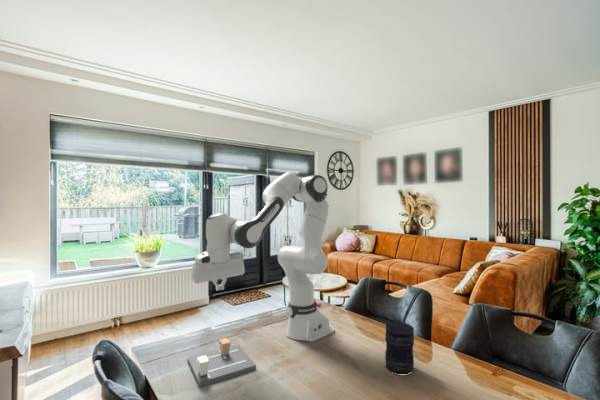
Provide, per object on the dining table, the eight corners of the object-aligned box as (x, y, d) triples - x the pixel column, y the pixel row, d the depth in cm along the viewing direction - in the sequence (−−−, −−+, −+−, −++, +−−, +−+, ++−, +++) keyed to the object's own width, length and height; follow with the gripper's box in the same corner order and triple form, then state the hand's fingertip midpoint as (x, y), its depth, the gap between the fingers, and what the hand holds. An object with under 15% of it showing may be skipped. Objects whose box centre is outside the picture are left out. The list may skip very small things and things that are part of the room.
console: (238, 347, 128) (238, 343, 128) (255, 369, 113) (255, 364, 113) (187, 361, 118) (187, 357, 118) (199, 387, 103) (199, 382, 103)
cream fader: (205, 367, 110) (205, 355, 110) (209, 374, 106) (209, 360, 106) (197, 370, 109) (196, 357, 109) (200, 376, 105) (200, 363, 105)
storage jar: (399, 378, 107) (399, 335, 107) (379, 364, 116) (379, 324, 116) (419, 371, 112) (420, 329, 111) (399, 358, 121) (399, 319, 120)
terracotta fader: (226, 349, 123) (226, 337, 123) (230, 354, 120) (230, 342, 119) (219, 351, 122) (219, 339, 122) (222, 356, 118) (222, 344, 118)
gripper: (240, 249, 131) (242, 282, 131) (190, 257, 120) (191, 292, 121) (246, 252, 125) (247, 286, 126) (194, 260, 115) (195, 297, 115)
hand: (220, 289), depth 123 cm, fingers closed
